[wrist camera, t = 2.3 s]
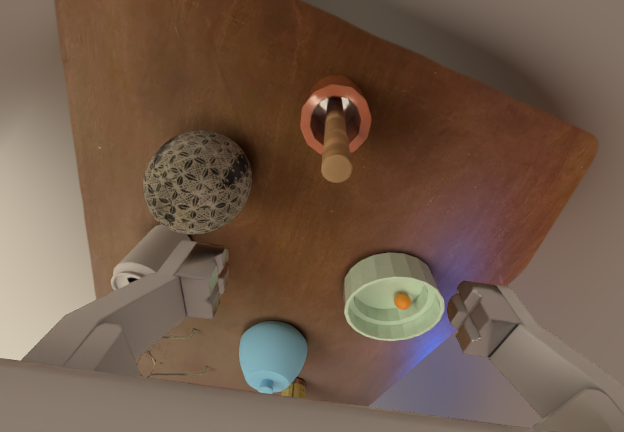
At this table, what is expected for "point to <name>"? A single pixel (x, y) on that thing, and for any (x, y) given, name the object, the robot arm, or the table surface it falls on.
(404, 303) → the bead
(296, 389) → the sauce bottle
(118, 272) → the can
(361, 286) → the bowl
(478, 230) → the table surface
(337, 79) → the utensil pot
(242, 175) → the decorative egg
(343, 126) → the stirring stick
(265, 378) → the sugar bowl
